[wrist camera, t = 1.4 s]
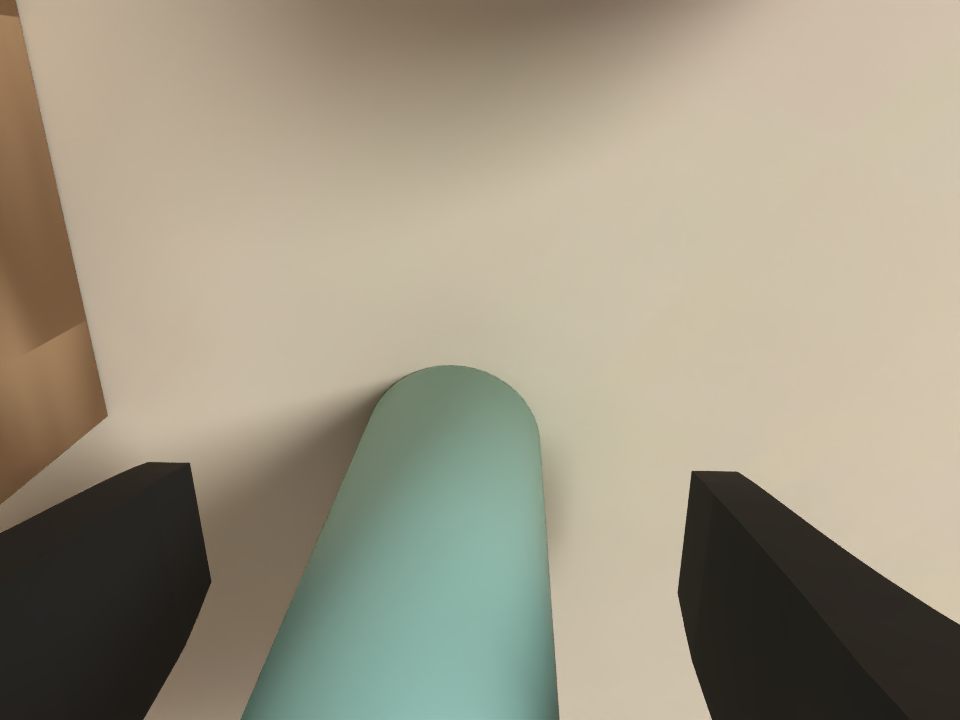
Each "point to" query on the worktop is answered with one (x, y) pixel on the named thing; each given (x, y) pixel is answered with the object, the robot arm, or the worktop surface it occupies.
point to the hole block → (36, 289)
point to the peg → (426, 569)
